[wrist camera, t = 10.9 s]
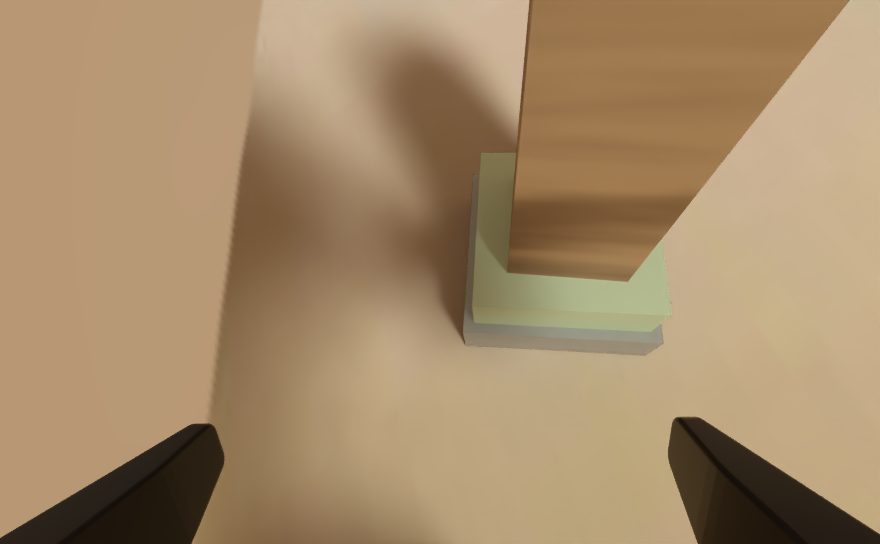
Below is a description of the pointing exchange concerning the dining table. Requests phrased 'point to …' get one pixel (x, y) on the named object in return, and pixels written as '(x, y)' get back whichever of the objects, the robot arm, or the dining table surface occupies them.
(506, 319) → the tower top slab
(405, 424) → the dining table surface
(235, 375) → the dining table surface
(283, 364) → the dining table surface
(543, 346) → the tower base slab
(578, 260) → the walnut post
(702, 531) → the robot arm
